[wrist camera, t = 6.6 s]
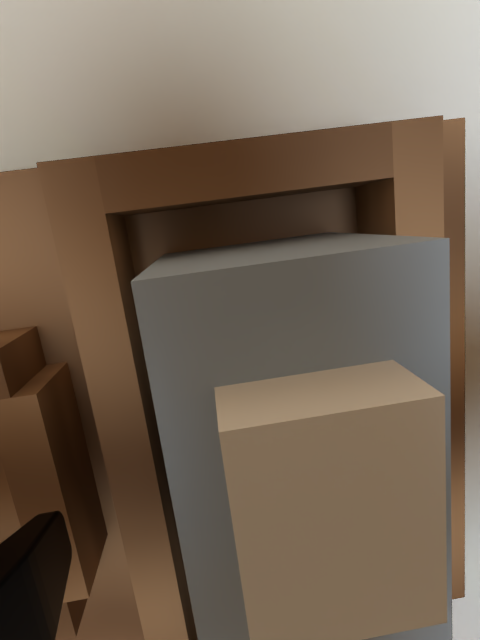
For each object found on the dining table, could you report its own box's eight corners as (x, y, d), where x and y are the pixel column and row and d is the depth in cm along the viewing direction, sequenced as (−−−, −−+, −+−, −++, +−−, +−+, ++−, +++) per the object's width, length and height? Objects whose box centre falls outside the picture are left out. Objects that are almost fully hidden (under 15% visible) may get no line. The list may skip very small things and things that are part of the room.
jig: (442, 566, 14) (511, 661, 11) (-172, 684, 13) (-289, 829, 10) (436, 129, 11) (530, 90, 8) (-386, 226, 10) (-664, 226, 7)
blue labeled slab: (353, 571, 12) (499, 896, 6) (220, 595, 12) (243, 959, 6) (328, 232, 10) (521, 241, 4) (164, 253, 10) (108, 298, 4)
